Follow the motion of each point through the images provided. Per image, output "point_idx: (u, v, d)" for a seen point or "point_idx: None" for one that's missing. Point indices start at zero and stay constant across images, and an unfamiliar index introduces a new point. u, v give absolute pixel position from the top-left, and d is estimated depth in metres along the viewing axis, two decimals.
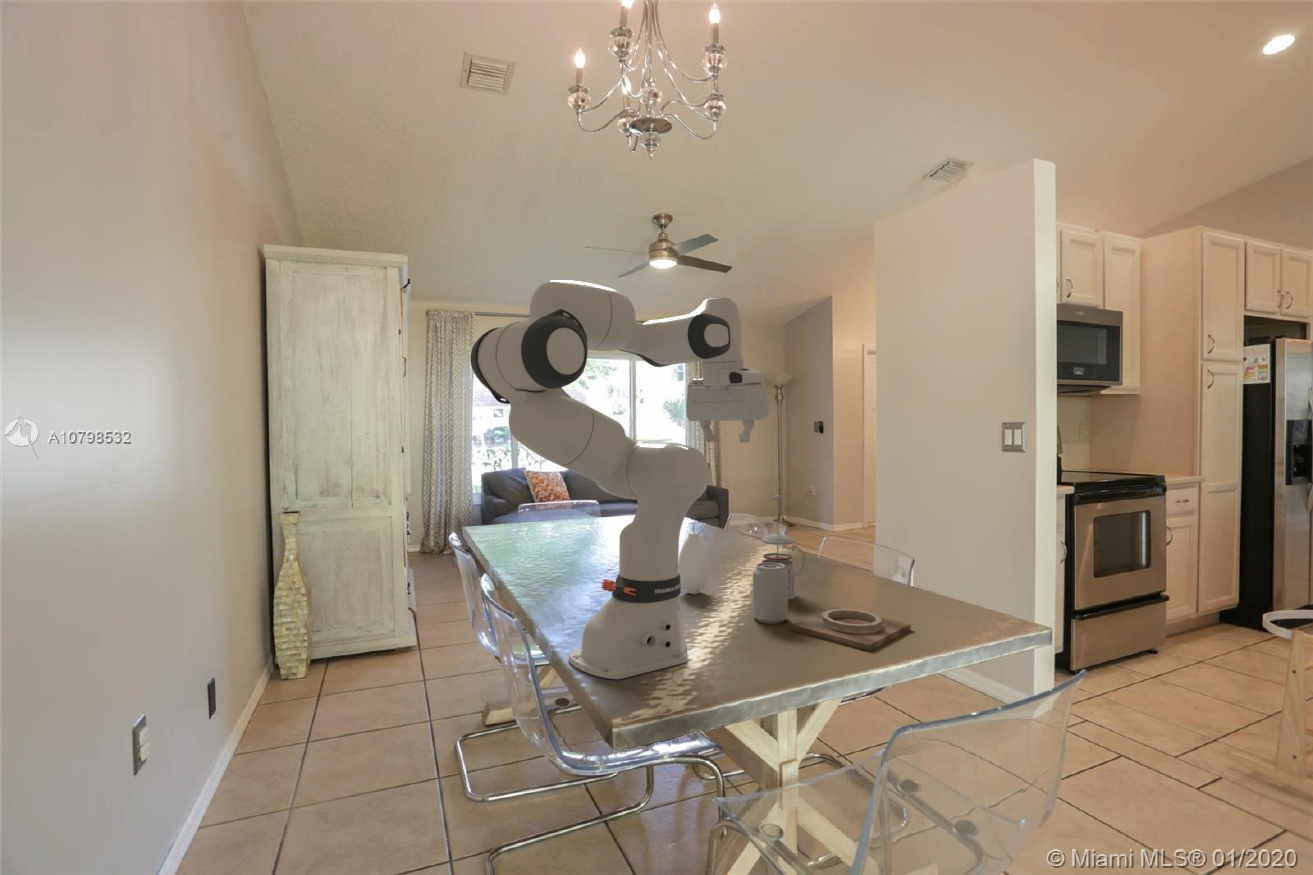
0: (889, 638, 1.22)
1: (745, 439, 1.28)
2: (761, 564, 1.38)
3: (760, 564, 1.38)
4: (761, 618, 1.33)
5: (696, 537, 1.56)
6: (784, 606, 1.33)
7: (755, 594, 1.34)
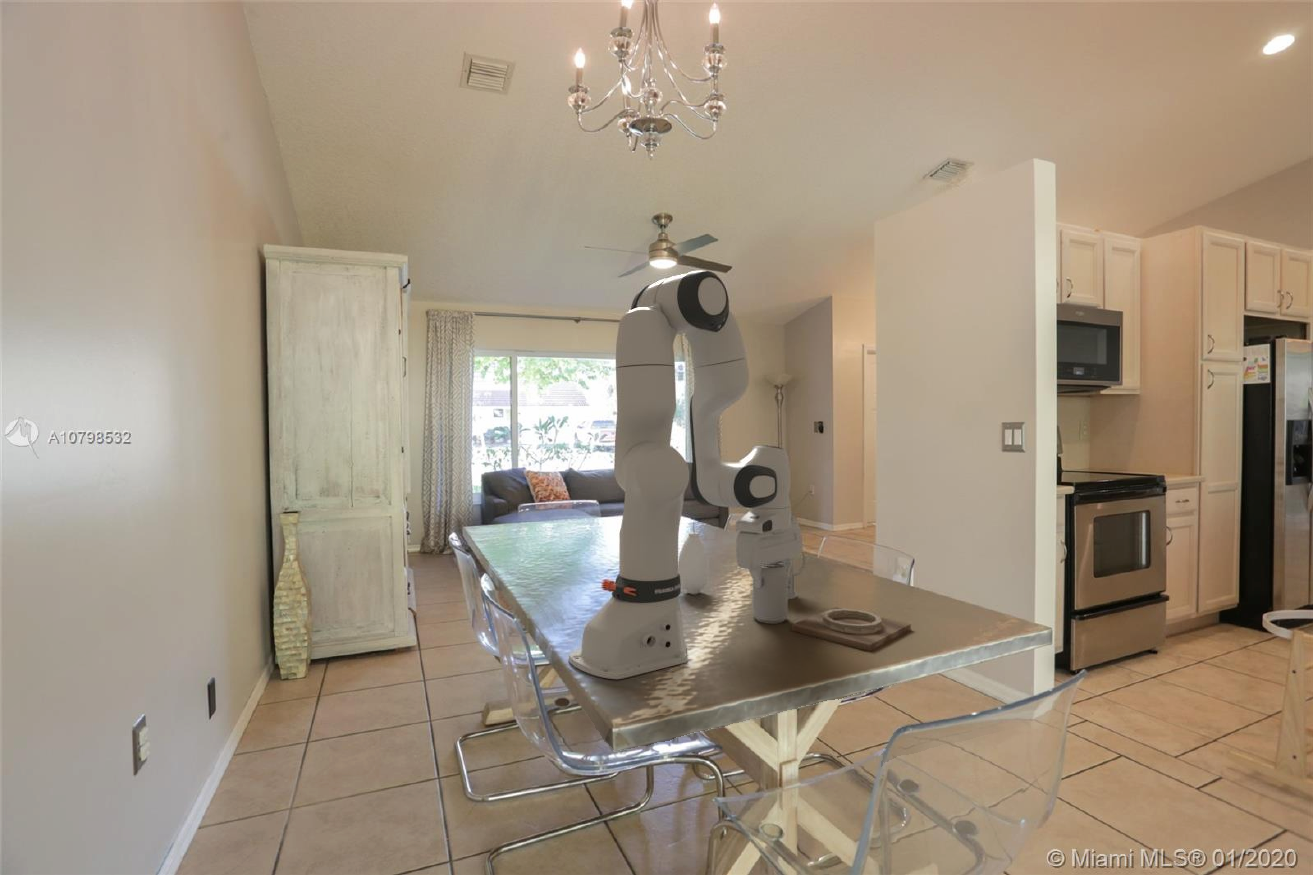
0: (889, 638, 1.22)
1: (753, 584, 1.32)
2: None
3: None
4: (761, 618, 1.33)
5: (696, 537, 1.56)
6: (784, 606, 1.33)
7: (755, 594, 1.34)
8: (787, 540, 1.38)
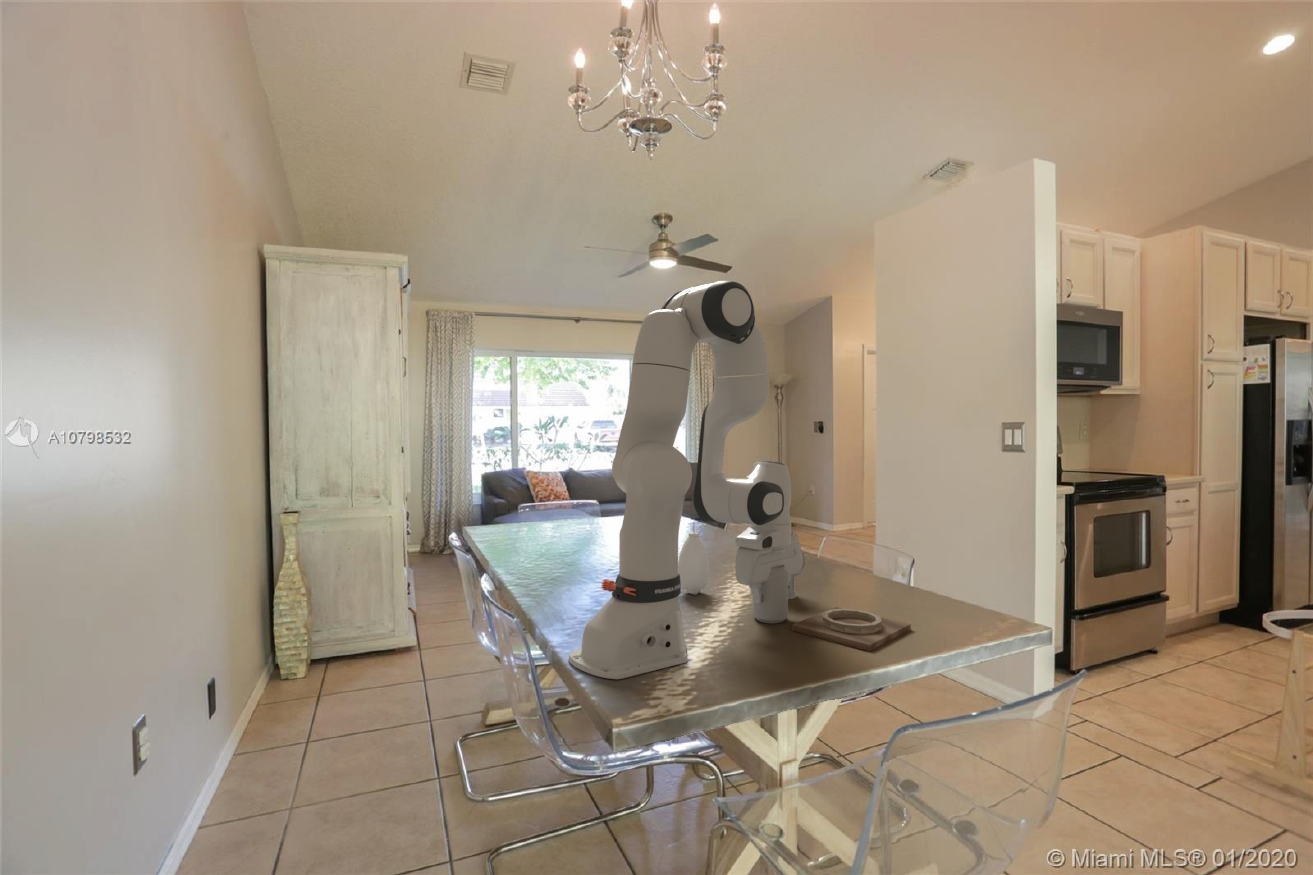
0: (889, 638, 1.22)
1: (753, 599, 1.33)
2: None
3: None
4: (761, 618, 1.33)
5: (696, 537, 1.56)
6: (785, 605, 1.33)
7: None
8: (786, 556, 1.37)
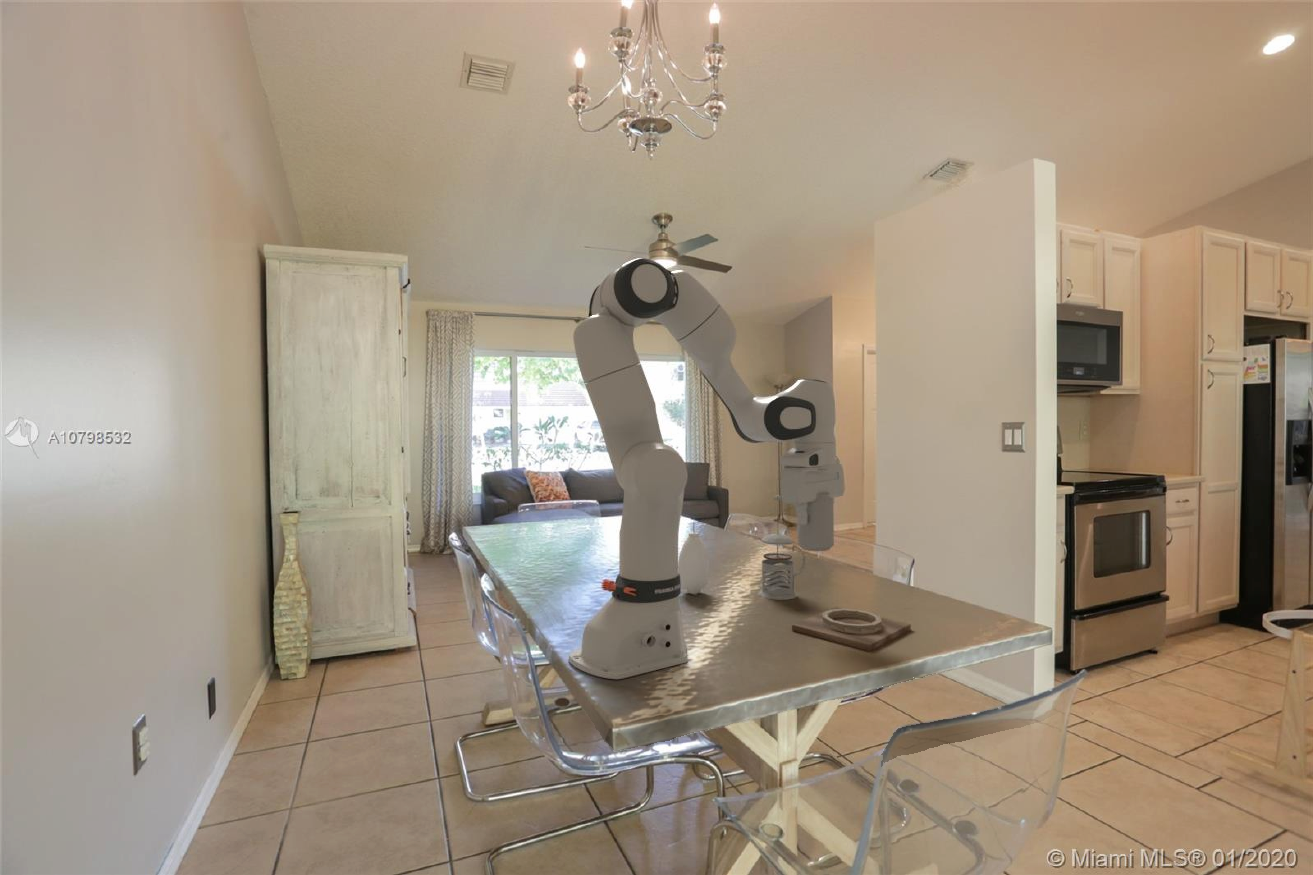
0: (889, 638, 1.22)
1: (799, 520, 1.29)
2: None
3: None
4: (808, 546, 1.29)
5: (696, 537, 1.56)
6: (831, 533, 1.30)
7: None
8: (830, 478, 1.34)
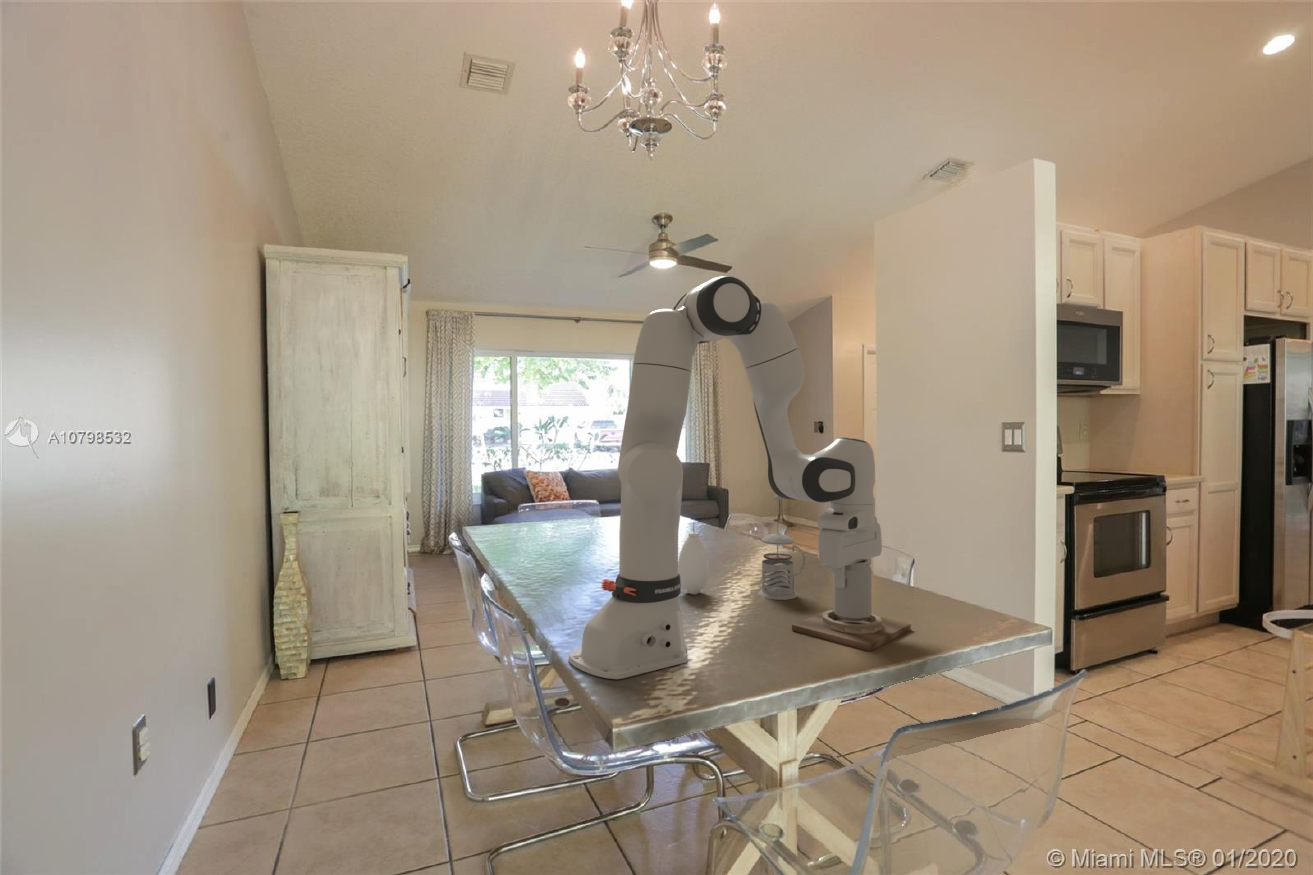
0: (889, 638, 1.22)
1: (836, 584, 1.25)
2: None
3: None
4: (846, 616, 1.26)
5: (696, 537, 1.56)
6: (869, 602, 1.26)
7: (838, 591, 1.27)
8: (868, 539, 1.30)
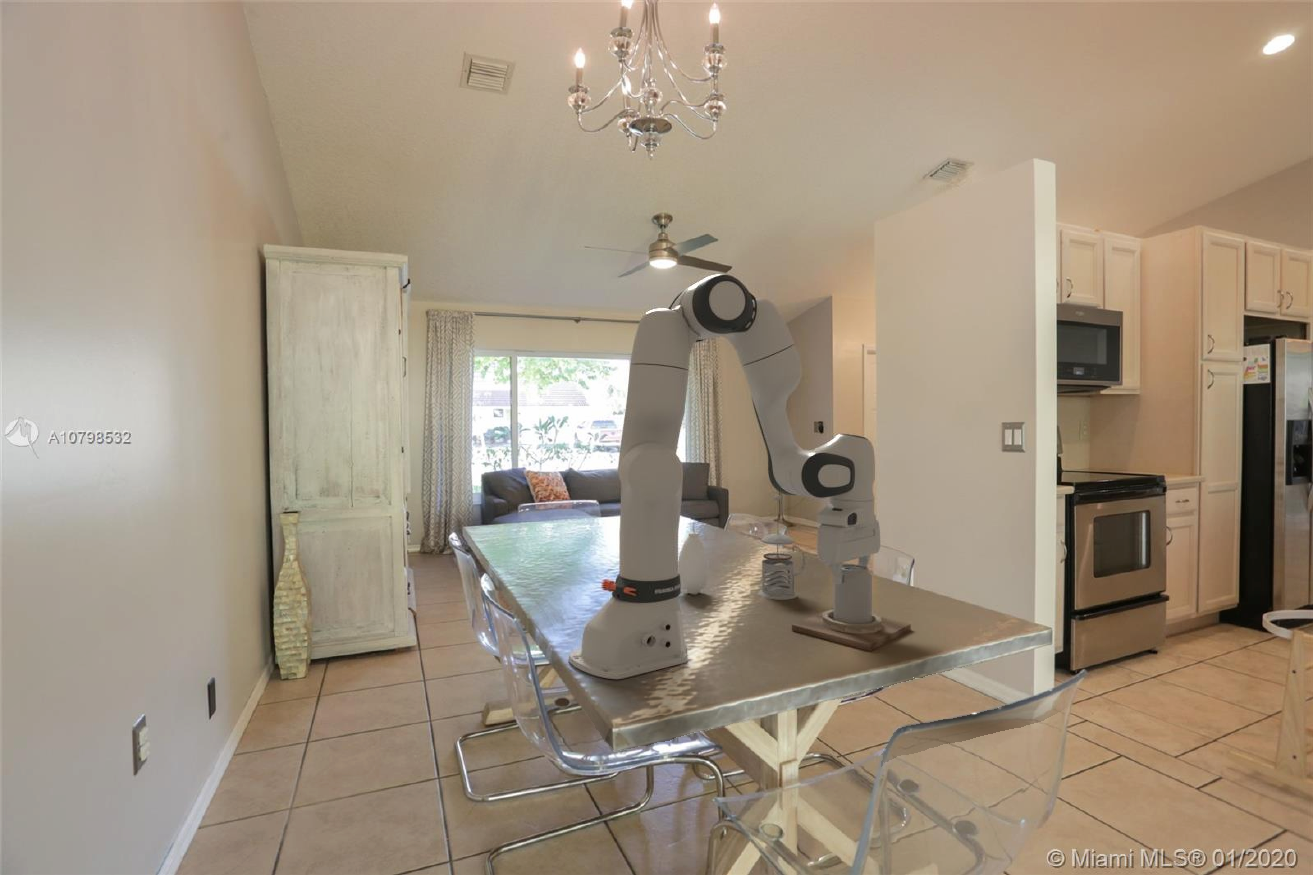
0: (889, 638, 1.22)
1: (833, 580, 1.25)
2: None
3: None
4: None
5: (696, 537, 1.56)
6: (870, 610, 1.26)
7: (838, 598, 1.27)
8: (867, 536, 1.30)
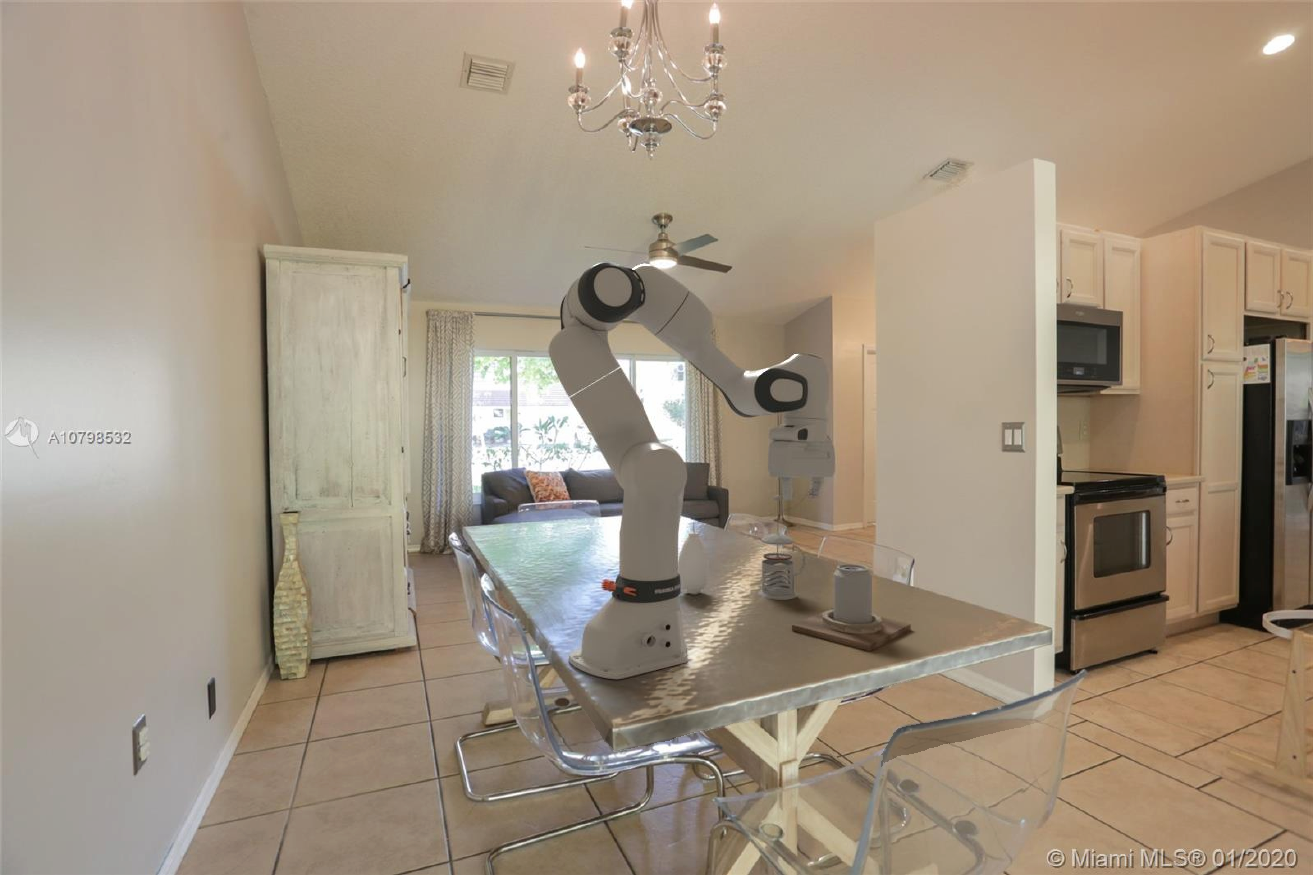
0: (889, 638, 1.22)
1: (784, 496, 1.27)
2: (841, 566, 1.30)
3: (840, 566, 1.30)
4: None
5: (696, 537, 1.56)
6: (870, 610, 1.26)
7: (838, 598, 1.27)
8: (820, 457, 1.32)
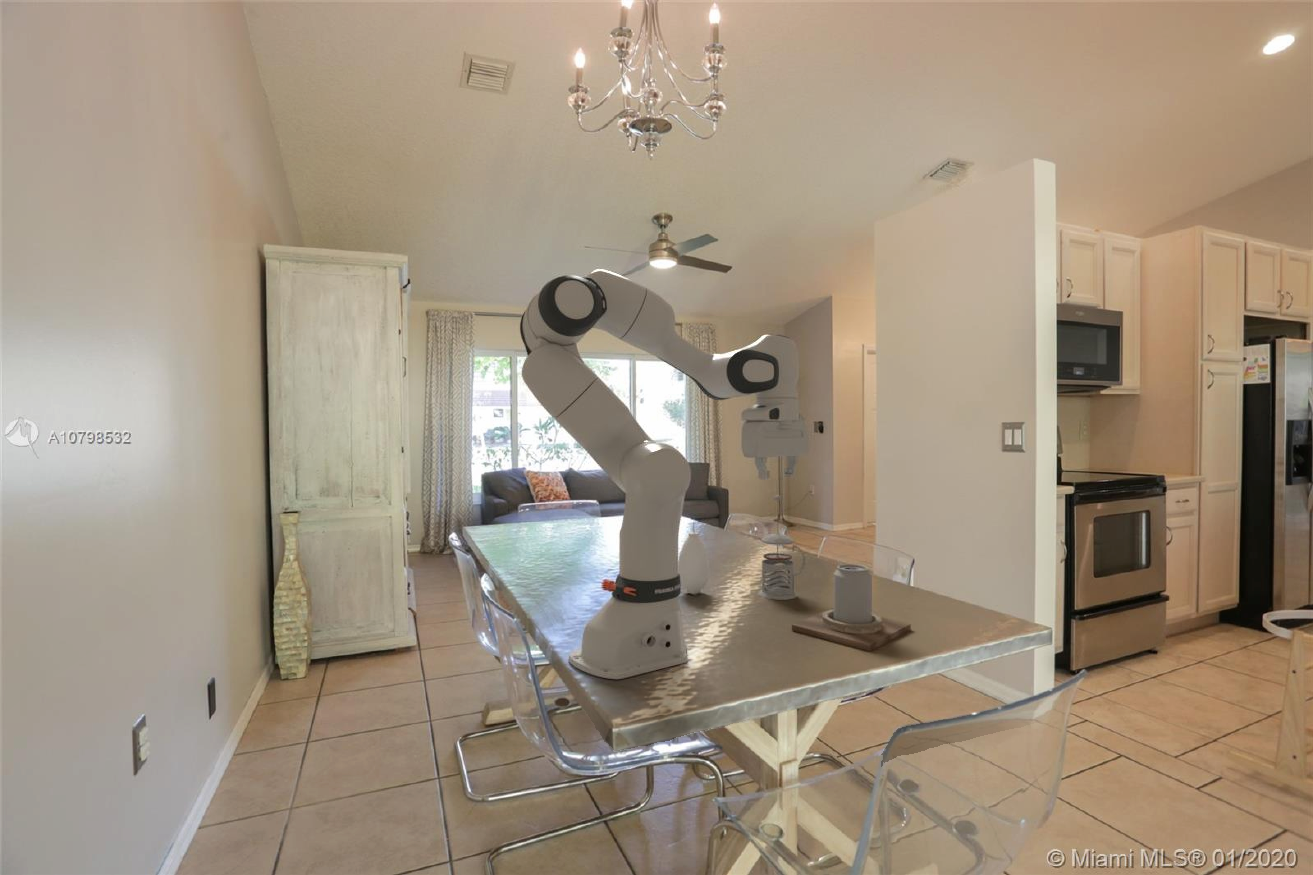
0: (889, 638, 1.22)
1: (759, 476, 1.28)
2: (841, 566, 1.30)
3: (840, 566, 1.30)
4: None
5: (696, 537, 1.56)
6: (870, 610, 1.26)
7: (838, 598, 1.27)
8: (794, 436, 1.33)
